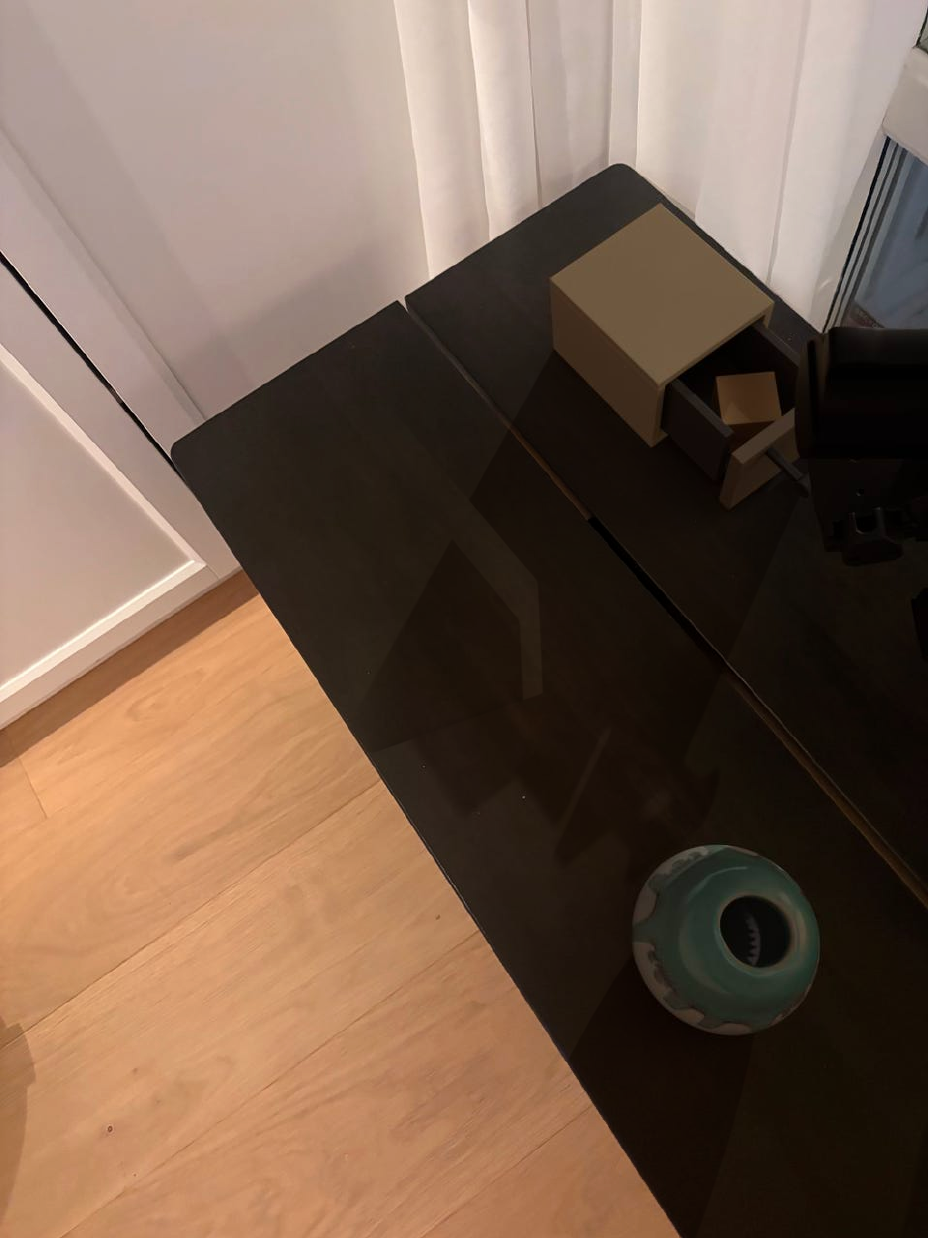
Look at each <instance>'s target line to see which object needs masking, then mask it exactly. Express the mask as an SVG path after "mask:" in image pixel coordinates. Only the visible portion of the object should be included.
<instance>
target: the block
mask: <svg viewBox="0 0 928 1238" xmlns="http://www.w3.org/2000/svg"><path fill="white" fill-rule="evenodd" d="M709 409H710V410H711V411H713V412H714V413H715V414H716V415H717V416H718V417H719V418H720V419H721V420H722V421H723V422H724V423H725V424H726V425H727V426H728V427H729V428H730V429H731V430H732V431H733V432H734V434H733V438H732V441H731V445H730V449H729V452H728V454H732V453H733V452H734V451H736V450H737V449H738V448H740V447H741V446H742V445H744V444H745V443H747V442H748V441H749V440H751V439H752V438H753V437H755V436H756V435H757V434H759V433H760V432H762V431H763V430H764V429H766V428H767V427H768V426H770V425H771V424H773V423H774V422H775V421H777V420H778V419H779V418H781V417H782V416H781V410H780V404H779V397H778V391H777V385H776V379H775V373H774V371H773V372H762V373H751V374H739V375H728V376H717V377H716V378H715V383H714V388H713V393H712V397H711V402H710V407H709Z"/></svg>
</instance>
